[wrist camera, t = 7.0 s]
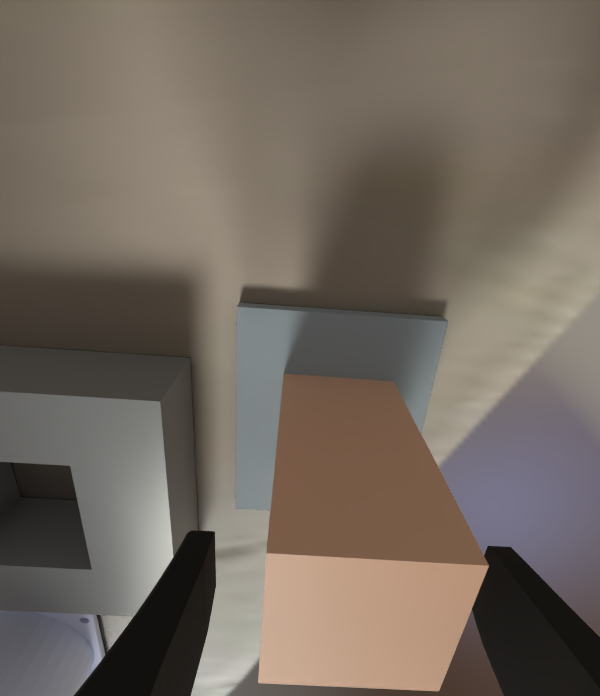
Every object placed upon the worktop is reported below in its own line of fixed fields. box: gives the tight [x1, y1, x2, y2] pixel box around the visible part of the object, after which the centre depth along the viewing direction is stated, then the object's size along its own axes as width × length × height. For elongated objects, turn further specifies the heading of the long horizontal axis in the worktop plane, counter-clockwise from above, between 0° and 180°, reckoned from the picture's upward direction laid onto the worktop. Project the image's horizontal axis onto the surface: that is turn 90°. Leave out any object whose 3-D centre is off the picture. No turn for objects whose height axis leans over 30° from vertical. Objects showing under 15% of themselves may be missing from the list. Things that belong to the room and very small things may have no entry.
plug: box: [258, 374, 489, 691], centre depth 12 cm, size 4×4×8 cm
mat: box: [236, 303, 448, 511], centre depth 16 cm, size 10×8×1 cm
